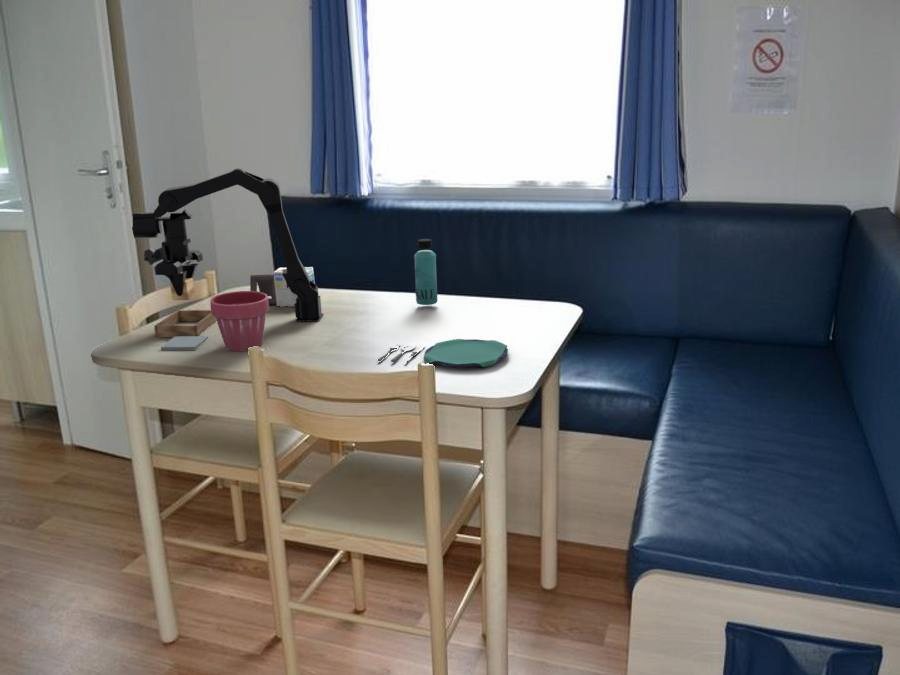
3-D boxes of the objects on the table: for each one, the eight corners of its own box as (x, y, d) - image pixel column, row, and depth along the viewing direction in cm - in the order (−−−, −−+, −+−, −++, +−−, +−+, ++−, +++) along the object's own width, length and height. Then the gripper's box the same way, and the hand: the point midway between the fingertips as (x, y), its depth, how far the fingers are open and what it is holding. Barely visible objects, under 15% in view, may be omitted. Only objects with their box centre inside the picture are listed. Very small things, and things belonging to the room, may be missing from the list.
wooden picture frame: (218, 319, 233) (217, 309, 232) (198, 336, 218) (196, 325, 217) (178, 320, 234) (177, 310, 233) (155, 336, 219) (154, 326, 218)
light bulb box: (316, 301, 250) (314, 266, 246) (311, 307, 243) (308, 271, 240) (282, 301, 251) (279, 266, 247) (276, 307, 244) (272, 271, 241)
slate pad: (208, 339, 215) (208, 336, 215) (195, 349, 207) (195, 346, 207) (175, 339, 216) (175, 336, 216) (161, 350, 208) (160, 347, 207)
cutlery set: (498, 375, 183) (497, 365, 183) (372, 368, 192) (371, 358, 191) (516, 348, 202) (515, 339, 201) (400, 343, 210) (400, 334, 209)
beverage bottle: (430, 303, 243) (428, 236, 237) (442, 307, 238) (440, 239, 232) (411, 306, 240) (408, 239, 234) (423, 311, 234) (420, 242, 228)
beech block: (194, 295, 225) (192, 278, 224) (188, 300, 221) (186, 282, 219) (179, 295, 225) (176, 278, 224) (172, 300, 221) (169, 282, 220)
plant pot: (284, 343, 210) (279, 295, 206) (238, 358, 199) (232, 307, 196) (249, 334, 218) (244, 287, 215) (204, 347, 208) (198, 299, 204)
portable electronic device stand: (248, 306, 246) (245, 279, 243) (254, 299, 253) (251, 273, 251) (278, 305, 246) (275, 278, 243) (283, 299, 253) (280, 272, 251)
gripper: (161, 230, 228) (168, 285, 232) (130, 243, 210) (139, 302, 215) (200, 230, 227) (206, 285, 231) (173, 243, 209) (180, 302, 214)
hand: (183, 293), depth 223 cm, fingers closed on beech block, 4 cm apart
